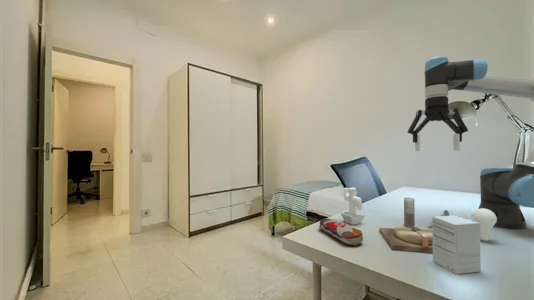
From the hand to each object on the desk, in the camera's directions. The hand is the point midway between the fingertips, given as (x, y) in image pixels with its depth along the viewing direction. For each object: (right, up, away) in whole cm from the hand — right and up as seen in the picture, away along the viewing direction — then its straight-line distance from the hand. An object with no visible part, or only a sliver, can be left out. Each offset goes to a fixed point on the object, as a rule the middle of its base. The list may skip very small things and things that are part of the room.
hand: (436, 150), depth 94 cm
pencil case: (-42, -31, -9) cm, 53 cm away
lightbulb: (+6, -31, -14) cm, 34 cm away
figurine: (-31, -31, +7) cm, 44 cm away
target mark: (-19, -29, -22) cm, 41 cm away
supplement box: (-17, -31, -31) cm, 47 cm away
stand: (-18, -31, -14) cm, 38 cm away
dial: (-18, -29, -14) cm, 37 cm away
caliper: (-1, -31, -1) cm, 31 cm away
